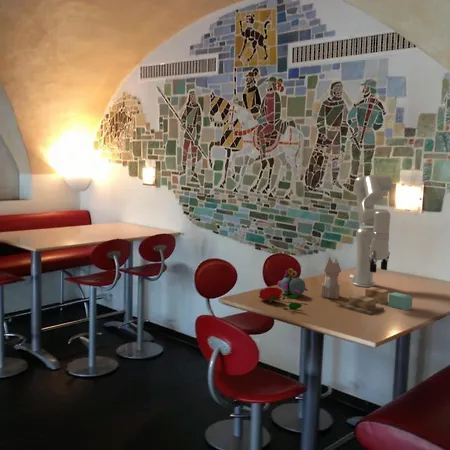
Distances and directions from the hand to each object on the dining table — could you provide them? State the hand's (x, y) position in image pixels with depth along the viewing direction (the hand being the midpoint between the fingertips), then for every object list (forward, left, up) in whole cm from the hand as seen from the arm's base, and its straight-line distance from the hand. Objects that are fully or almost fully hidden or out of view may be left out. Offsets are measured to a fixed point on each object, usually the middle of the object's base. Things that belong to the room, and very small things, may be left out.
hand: (378, 270), depth 272 cm
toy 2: (-18, -14, -16) cm, 28 cm away
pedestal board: (+3, -17, -15) cm, 23 cm away
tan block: (0, 0, -16) cm, 16 cm away
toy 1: (-33, -25, -16) cm, 44 cm away
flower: (-22, -44, -16) cm, 52 cm away
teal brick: (+13, 0, -16) cm, 20 cm away
